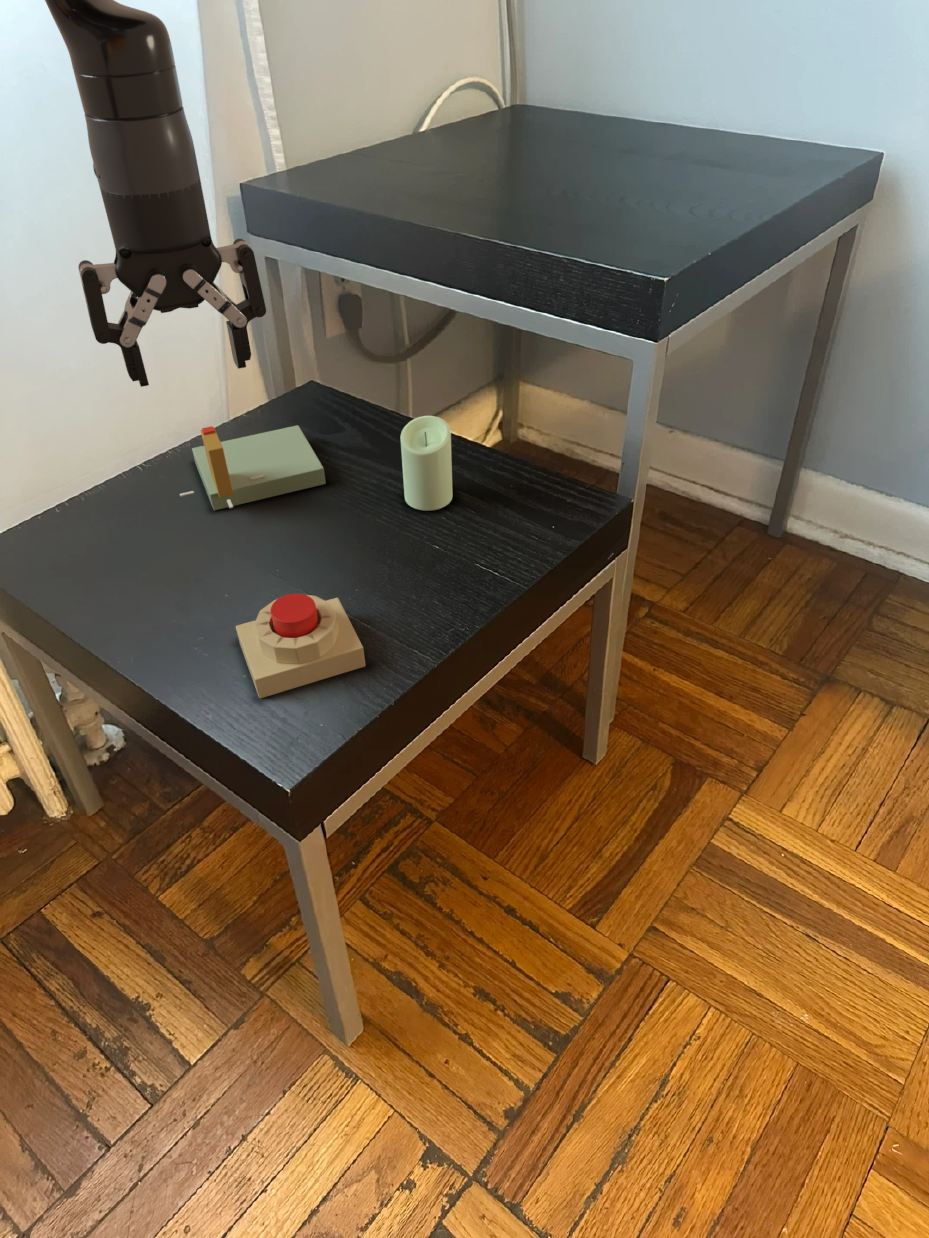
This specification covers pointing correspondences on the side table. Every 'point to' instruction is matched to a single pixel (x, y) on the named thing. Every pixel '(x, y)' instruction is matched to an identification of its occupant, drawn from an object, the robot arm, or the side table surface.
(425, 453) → the candle
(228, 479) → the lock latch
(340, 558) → the side table surface
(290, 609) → the button
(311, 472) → the plate
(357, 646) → the button box
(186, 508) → the side table surface
